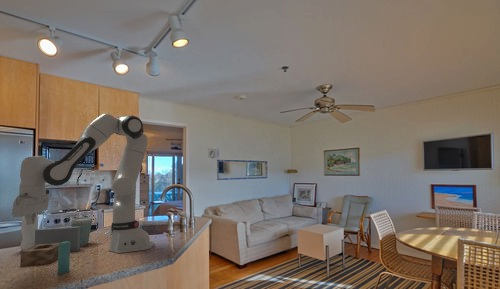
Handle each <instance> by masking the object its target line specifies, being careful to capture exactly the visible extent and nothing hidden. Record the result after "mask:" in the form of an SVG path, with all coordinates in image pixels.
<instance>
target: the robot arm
mask: <svg viewBox="0 0 500 289" xmlns="http://www.w3.org/2000/svg"><path fill="white" fill-rule="evenodd" d="M114 134H116V135H118V136H124V137H125V138H126V144H125V147H124V150H123V152H122V157H121V160H120V162H119V165H118V168H117V170H116V172H115V176H114V178H113V180H112V185H111V189H112V192H113V193H114V196H113V205H112V221H111V227H110V230H111V237H110V244H109V247H108V251H109V252H113V253H116V254H122V253H131V252H138V251H146V250H149V249H152V248H153V247H154V245H155V242H154V241H153V240H150V235H149V233H148V232H147V231H145V230H144V229H142V228H141V227H140V220H136V198H137V197H136V196H137V195H136V194H137V181H138V178H139V174H140V172H141V169H142V166H143V163H144V159H145V155H146V153H147V147H148V140H149V139H148V136H147V134H145V133H144V124H143V121H142V120H141V119H140V118H139V117H138V116H135V115H123V116H118V117H115V116H114V115H112V114H109V113H103V114H101V115H99V116H98V117H97V118H95V119H94V120H92V121H91V122H90V123H89V124H88V125H87V126H86V127H85V128H84V129H83V131H82V132H81V133H80V135H79V137H78V140H77V142H76V144H75V145H74V147H72V148H71V149H70V150H69V151H68V152H67V153H66V154H65V155H64V156H63V157H61V159H59V160H57V161H54V160H52V159H49V158H47V157H45V156H44V155H34V156H28V157H25V158H24V159H23V160H22V161H21V164H20V173H19V177H20V183H19V189H18V195H17V196H16V197H15V199H14V201H13V202H12V203H13V204H12V211H11V215H12V217H13V218H22V217H23V216H25V219H26V224H27V225H31V224H34V223H35V219H36V217H37V215H38V213H40V212H44V211H47V210H48V208H49V201H50V196H49V195H50V194H51V189H48V188H47V187H46V184H49V185H51V186H56V187H57V186H58V187H59V186H62V185H65V184H66V183H68V182H69V180H70V179H71V178H72V174H73V172H74V169H75V168H76V167H77V166H78V165H79V164H80V163H81V161H82V160H83V159H84V158H86V156H88V154H90V153H91V152H93V151H94V150H97V149H98V148H99V147H101V146H102V145H103V144H105V142H106V141H107V140H109V138H110V137H111V136H112V135H114Z"/></svg>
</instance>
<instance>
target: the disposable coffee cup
mask: <svg viewBox="0 0 500 289" xmlns="http://www.w3.org/2000/svg"><path fill="white" fill-rule="evenodd" d="M92 224H93V218H91V217H90V216H89V217H88V216H79V217H73V218H72V219H71V221H70V225H71V226H70V227H78V226H81V228H80V247H83V246H85V245H88V244H89V240H90V236H91V235H90V234H91V230H92Z"/></svg>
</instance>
